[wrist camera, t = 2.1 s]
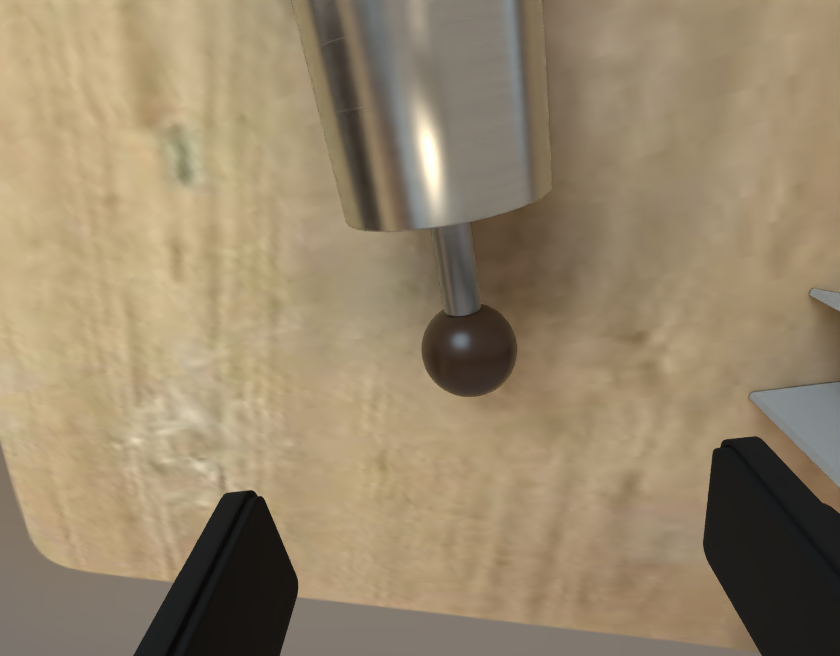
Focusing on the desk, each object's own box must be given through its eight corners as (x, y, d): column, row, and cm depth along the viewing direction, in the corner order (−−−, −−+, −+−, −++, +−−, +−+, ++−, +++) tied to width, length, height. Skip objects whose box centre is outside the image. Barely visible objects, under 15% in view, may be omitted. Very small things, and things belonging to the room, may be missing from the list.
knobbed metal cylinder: (544, 337, 19) (584, 433, 14) (398, 357, 20) (382, 456, 14) (502, -258, 12) (552, -548, 6) (274, -194, 13) (147, -410, 7)
